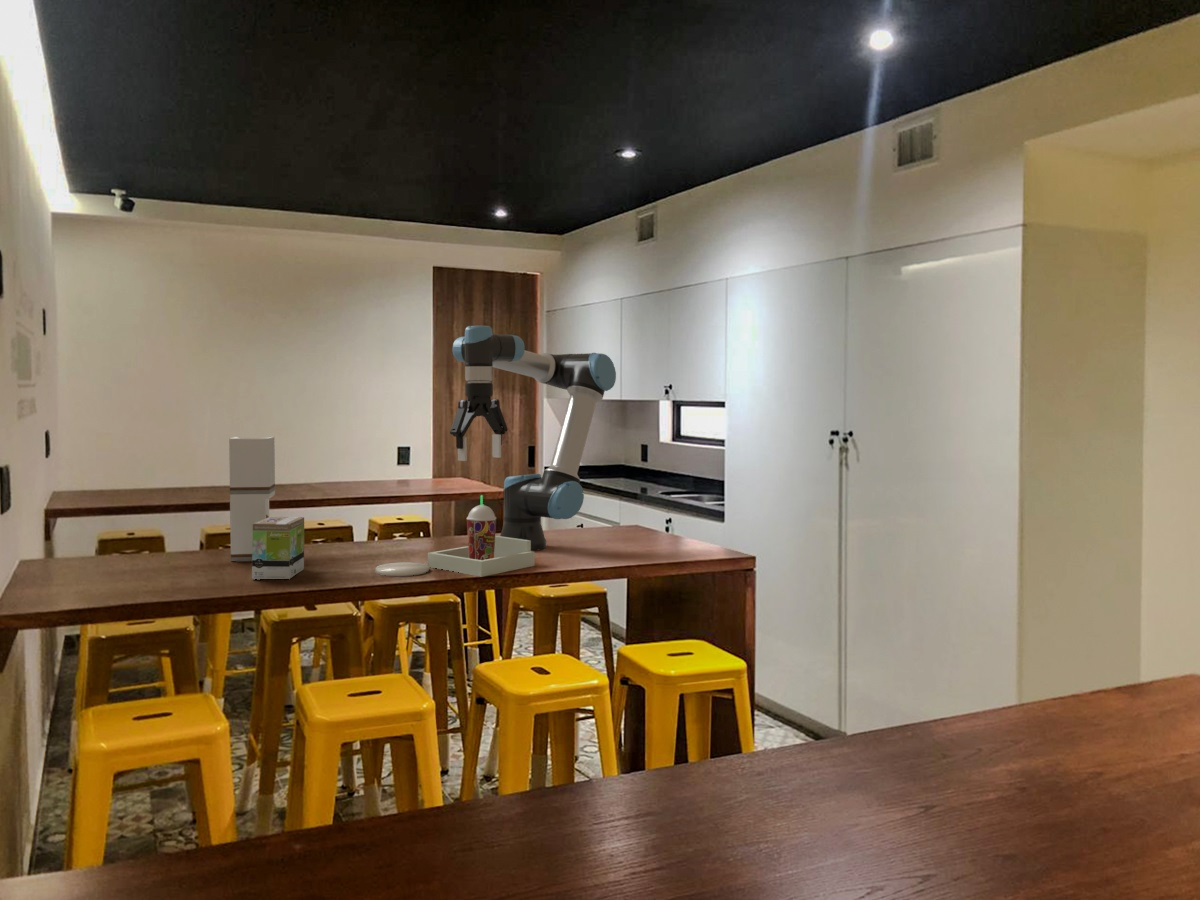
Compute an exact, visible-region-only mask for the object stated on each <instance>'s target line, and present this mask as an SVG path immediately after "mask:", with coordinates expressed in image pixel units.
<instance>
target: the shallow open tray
mask: <svg viewBox="0 0 1200 900" xmlns="http://www.w3.org/2000/svg"><path fill="white" fill-rule="evenodd" d="M535 554H536V553H535V551H531V540H523V539H516V538H509V537H502V536H500V535H495V548H494V558H491V559H486V560H477V559H470V558H469V548H468V546H462V547H460V546H459V547H456V548H449V549H442V550H438V551H431V552H427V565H428V566H429V567H431V568H430V569H435V568H437V569H436V570H441V569H443V570H442V571H446V570H449V571H448V572H452V571H454V572H453V573H458V572H459V574H464V575H470V576H476V577H482V578H483V577H487V576H492V575H496V574H500V573H501V574H502V573H505V572H511V571H516V570H520V569H526V568H530V567H535V562H536V561H535V558H536V557H535Z"/></svg>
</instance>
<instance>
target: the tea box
mask: <svg viewBox="0 0 1200 900" xmlns="http://www.w3.org/2000/svg"><path fill="white" fill-rule="evenodd" d="M304 569H305V517H302V516H299V517H298V516H269V517H268V518H265V519H263V520H261V521H258V522H256V523H253V539H252V561H251V579H252V580H255V579H257V580H258V581H260V579H289V580H290V579H291V578H293V577H294V576H295V575H297V574H299V573H300V572H302V571H303V570H304ZM257 580H256V581H257Z"/></svg>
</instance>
